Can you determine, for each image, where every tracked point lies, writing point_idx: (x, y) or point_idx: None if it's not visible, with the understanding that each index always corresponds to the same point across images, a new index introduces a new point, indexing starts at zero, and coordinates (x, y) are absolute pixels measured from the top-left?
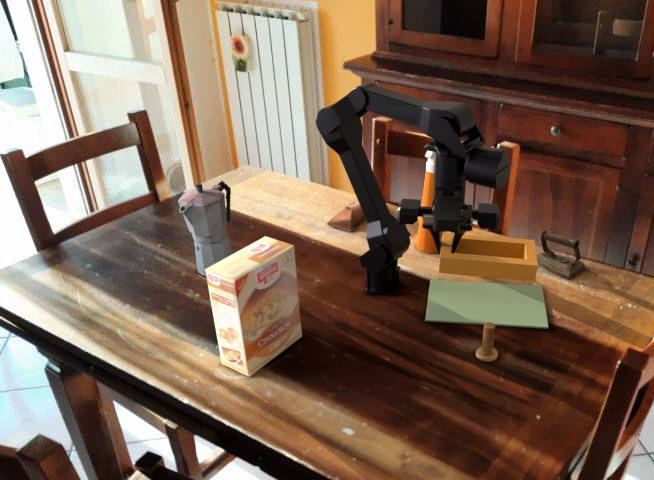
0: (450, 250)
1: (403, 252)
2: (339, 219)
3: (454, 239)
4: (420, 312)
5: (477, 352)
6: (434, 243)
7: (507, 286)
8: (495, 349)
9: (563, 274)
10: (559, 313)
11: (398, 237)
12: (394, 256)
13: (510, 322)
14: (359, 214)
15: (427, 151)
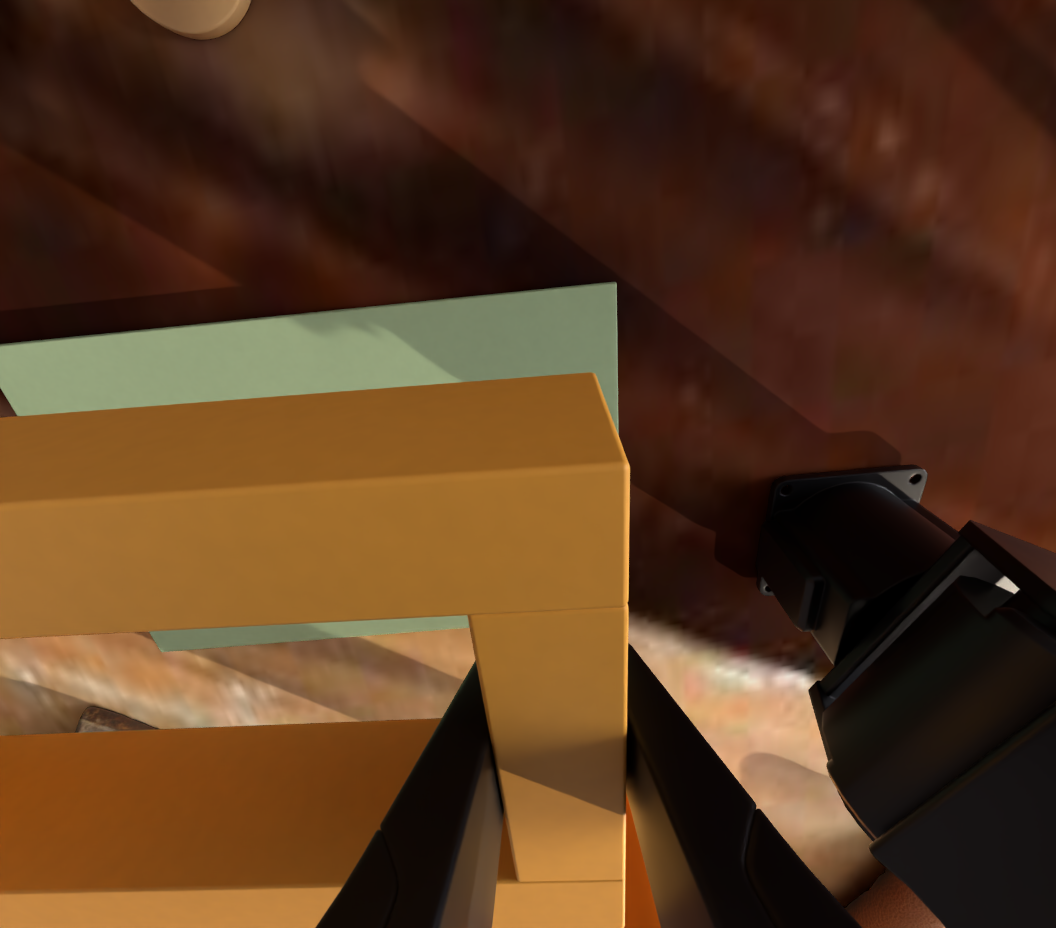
0: (490, 676)
1: (861, 691)
2: None
3: (434, 885)
4: (645, 363)
5: None
6: (628, 808)
7: (293, 624)
8: (132, 2)
9: (109, 725)
10: None
11: (1035, 811)
12: (973, 619)
13: (173, 350)
14: (917, 903)
15: None
